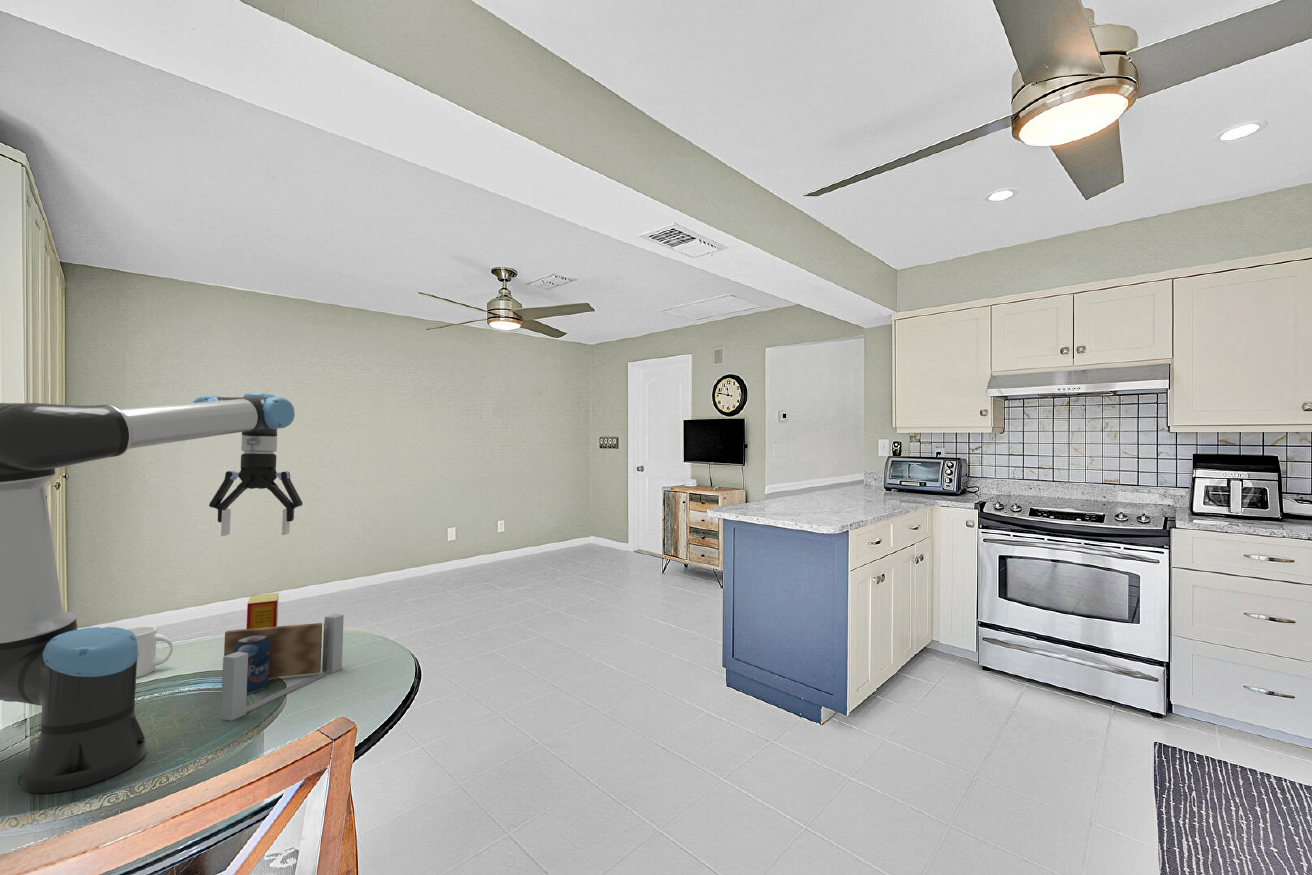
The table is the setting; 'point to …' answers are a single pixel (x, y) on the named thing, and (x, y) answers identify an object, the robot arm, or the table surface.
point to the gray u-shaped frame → (237, 691)
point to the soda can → (255, 660)
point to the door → (288, 648)
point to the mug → (148, 649)
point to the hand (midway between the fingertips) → (255, 534)
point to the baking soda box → (262, 611)
